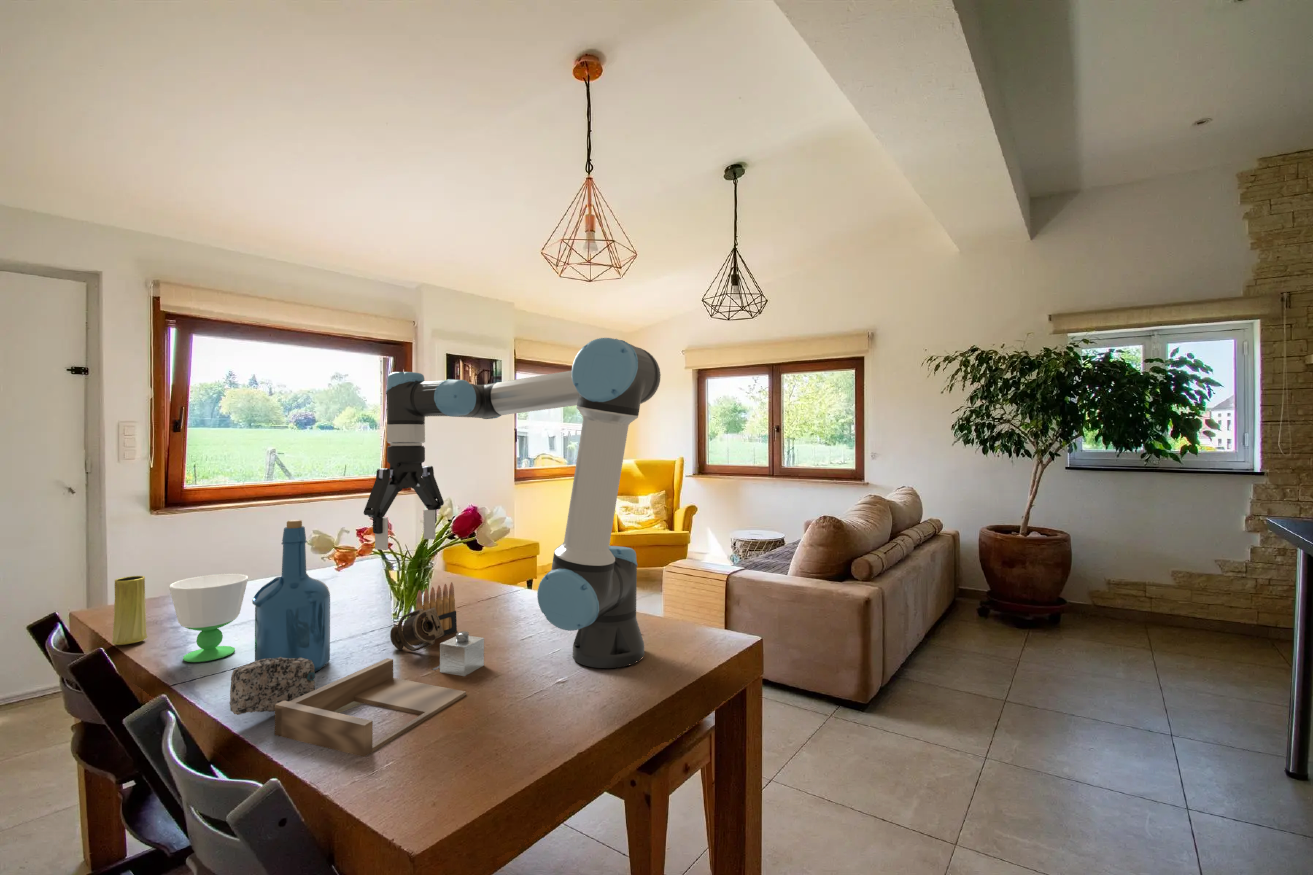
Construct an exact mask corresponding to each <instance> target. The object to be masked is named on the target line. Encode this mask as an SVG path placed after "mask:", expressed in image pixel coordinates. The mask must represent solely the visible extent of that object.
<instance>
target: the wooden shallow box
mask: <svg viewBox="0 0 1313 875" xmlns="http://www.w3.org/2000/svg"><path fill="white" fill-rule="evenodd" d="M466 695H467V691H465V690H460V689H454V688H449V687H443V686H438V685H433V684H428V683H423V682H417V681H413V680H408V679H407V680H406V679H402V678H397V677H394V659H393V658H388V657H386V658H384V659H382V660H380V661H378V662H376V663H373V664H371V665H367V667H364V668H362V669H359V670H357V671H355V672H352V673H350V674H348V675H345V676H343V677H342V678H339V679H337V680H334V681H332V682H330V683H328V684H325V685H323V686H320V687H318V688H317V689H316V688H315V690H314V691H311V692H309V693H307V694H305V695H302V696H300V697H298V698H296V699H293V700H291V701H289V702H288V701H282V702H279V703H277V704H275V711H274V736H277V737H280V738H284V739H289V740H293V741H297V742H301V743H305V744H309V745H313V746H317V747H322V748H326V749H329V750H333V751H338V752H342V753H346V754H351V755H355V756H359V757H363V758H364V757H366V756H368V755H370V754H371V753H373V752H375V751H376V750H378V749H379V748H382V747H383V746H385V745H386V744H388V743H389V742H391V741H393V740H394V739H396V738H397V737H400V736H402V734H405V733H406V732H407V731H410V730H411V729H413V728H414V727H416V726H418V725H419V724H421V723H423V722H424V721H425V720H427V719H429V718H431V717H432V716H434V715H436V714H437V713H439V712H440V711H442V710H444V709H445V708H448V706H451V705H452V704H454V703H455V702H457V701H459V700H460V699H463V697H465V696H466ZM364 704H365V705H371V706H376V707H380V708H385V709H390V710H395V711H400V712H405V713H409V714H411V713H412V714H415V715H418V716H416V717H414V719H412V720H410V721H408V722H407V723H405V724H403V725H401V726H400V727H398V728H397V729H394V730H393V731H392V732H390V733H388V734H386V735H385V736H383V737H381V738H380V739H378V740H376V741H374V742H373V735H374V734H373V733H374V732H373V728H374V727H373V725H374V724H373V720H372V719H371V720H370V719H366V718H362V717H358V716H354V715H349V714H344V712H345V711H348V710H350V709H352V708H355V707H357V706H360V705H364Z"/></svg>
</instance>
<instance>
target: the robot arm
mask: <svg viewBox="0 0 1313 875" xmlns="http://www.w3.org/2000/svg"><path fill="white" fill-rule="evenodd" d="M660 369H661V368H660V366H659V363H658V361H657V360H656V358H655V357H654V356H653V355H652V354H651V353H650V352H648V351H647V350H645V349H644V348H641V347H638V346H635V345H633V344H631V343H628V342H627V341H625V340H622V339H618V338H611V337H600V338H596V339H593V340H591V341H589V342H588V343H586V344H585V345H584V346H582V347H581V348H580V349H579V351H578V352H577V354H576V355H575V357H574V360H573V361H572V366H571V370H567V371H561V372H554V373H548V374H542V375H537V376H528V377H524V378H518V379H511V380H505V381H499V382H493V383H486V384H472V383H469V381H467V380H465V379H454V378H448V379H442V380H429V381H427V380H425V376H424V374H423V373H421V372H413V371H393V372H391V373H389V374H388V376H387V378H386V390H385V396H386V438H387V439H386V441H387V443H388V444H389V445H388V446H387V448H386V462H387V463H388V465H389V468H377V470H376V473H375V474H376V476H375V481H374V483H373V486H372V489H371V492H370V495H369V497H368V499H367V502H366V504H365V507H364V509H363V515H364V516H368V517H369V518H372V532H373V534H374V549H375V550H379V551H381V550H382V551H387V550H389V518H388V517H387V516H386V514H387V512H388V511H389V509H390V507H391V505H392V504H393V502H394V501H395V499H396V498H397V496H398V494H399V492H401V491H402V490H404V489H412V490H414V492H415V494H416V495H417V496H418V498H419V499H420V500H421V502H422V504H423V505H424V507H425V508H426V509H423V510H422V511H423V539H424V540H436V524H437V516H438V514H437V512H438V510H440V509H441V508H442V506H444V503H445V502H444V499H443V496H442V494H441V491H440V488H439V486H438V483H437V480H436V477H435V471H434V467H433V466H432V465H422V464H423V463H425V461H426V447H425V446H424V445H423V444H425V443H426V421H425V420H426V417H427V418H428V417H449V418H450V417H453V418H454V417H455V418H474V419H475V418H476V419H483V420H493V419H498V418H499V417H502V416H507V415H513V414H521V413H529V412H538V411H543V410H545V411H546V410H550V409H551V410H552V409H558V408H565V407H567V408H568V407H575V406H576V409H577V410H578V412H579V413H580V415H581V416H582V424H581V425H582V426H581V431H580V437H579V443H578V449H577V450H578V451H577V457H576V462H575V469H574V477H573V482H572V488H571V495H570V502H569V508H568V515H567V521H566V526H565V531H564V532H565V534H564V538H563V539H564V541H563V542H562V543H561V544H560V545H558V546H557V547H556V548H555V549H554V552H553V557H552V564H551V570H550V571H548V572H547V573H546V574H545V575H544V576H543V577H542V579H541V581H540V582H539V584H538V588H537V603H538V605H539V606H538V607H539V608H540V611H541V613H542V614H543V615H544V616H545V619H546V620H547V622H549V623H550V624H551V625H552V626H554V627H555V628H558V629H560V630H563V631H570V632H571V631H576V634H575V639H574V640H573V643H572V644H573V645H572V658H573V660H574V661H575V662H576V663H578V664H581V665H583V666H586V667H589V668H590V667H591V668H597V669H615V668H616V667H617V668H622V667H621V666H623V667H627V665H628V666H630V665H629V664H631V665H634V664H636V663H637V662H636V661H638V662H640V661H641V660H642V659H643V658H644V657H645V642H644V638H643V634H642V632H641V629H640V626H639V623H638V620H637V586H638V584H637V583H638V582H637V577H638V576H637V574H638V572H637V571H638V570H637V569H638V568H637V567H638V562H637V553H636V550H635V549H633V548H632V547H628V546H627V547H626V546H618V545H610V543H611V536H612V530H613V526H614V525H613V524H614V518H615V511H616V505H617V499H618V494H619V493H618V492H619V486H620V480H621V474H622V469H623V462H624V456H625V449H626V444H627V437H628V431H629V426H630V424H632V423H633V422H634V421H635V420H637V419H638V418H639V414H640V408H641V404H643V403H646V402H648V401H649V400H651V399H652V397H654V395H656V392H657V391H658V389H659V387H660V383H661V375H662V374H661V370H660ZM643 656H644V657H643ZM642 657H643V658H642ZM641 658H642V659H641ZM640 659H641V660H640ZM639 660H640V661H639ZM635 662H636V663H635ZM633 663H634V664H633ZM617 668H616V669H617Z"/></svg>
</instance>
